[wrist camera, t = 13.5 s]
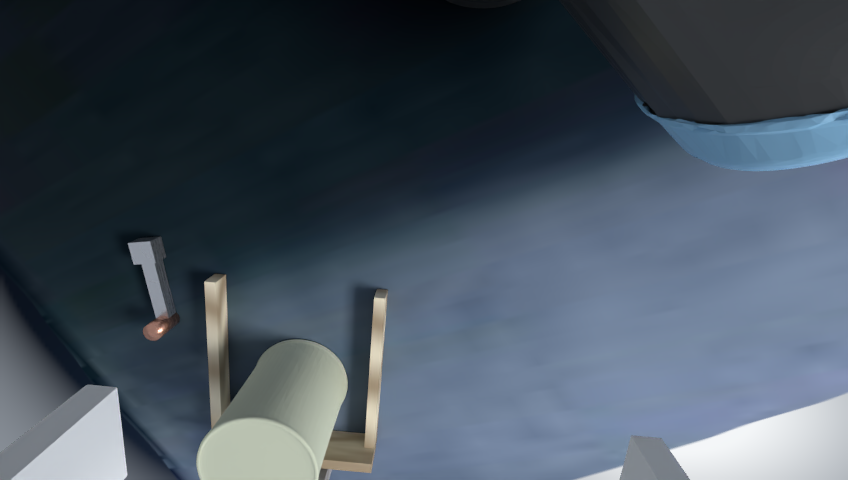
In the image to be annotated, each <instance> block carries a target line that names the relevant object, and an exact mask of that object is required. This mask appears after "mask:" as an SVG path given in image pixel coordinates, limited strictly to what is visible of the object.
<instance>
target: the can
mask: <svg viewBox="0 0 848 480" xmlns="http://www.w3.org/2000/svg"><path fill="white" fill-rule="evenodd" d="M347 388H348V380H347V375H346V371H345V369H344V367H343V365H342V363H341V361H340V360H339V359H338V357H337V356H336V355H335V354H334V353H333V352H331V351H330V350H329V349H327V348H326V347H324V346H323V345H320V344H318V343H316V342H313V341H309V340H303V339H292V340H286V341H282V342H279V343H277V344H275V345H273V346H272V347H270V348H269V349H267V350H266V351H265V352H264V353H263V354H262V356H261V357H260V359H259V360H258V362H257V365H256V367H255V369H254V370H253V372H252V373H251V375H250V376H249V377H248V379H247V380H246V382H245V383H244V385H243V386H242V388H241V389H240V390H239V392H238V393H237V395H236V396H235V398H234V399H233V400H232V402H231V403H230V405H229V406H228V407H227V409H226V410H225V412H224V413H223V414H222V416H221V417H220V418H219V420H218V421H217V422H216V424H215V425H214V427H213V428H212V429H211V430H210V431H209V432H208V433H207V435H206V436H205V437H204V439H203V440H202V442H201V444H200V446H199V449H198V452H197V459H196V464H197V471H198V475H199V478H200V480H318V477H319V473H320V469H321V466H322V463H323V459H324V456H325V453H326V450H327V447H328V443H329V440H330V437H331V434H332V431H333V427H334V424H335V421H336V418H337V415H338V412H339V409H340V407H341V404H342V403H343V401H344V399H345V396H346V393H347Z"/></svg>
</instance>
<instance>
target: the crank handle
mask: <svg viewBox="0 0 848 480" xmlns="http://www.w3.org/2000/svg"><path fill="white" fill-rule="evenodd" d="M128 246H129V249H130V253H131V256H132V260H133V264H134V265H137V264H141V265H142V268H143V272H144V276H145V279H146V283H147V287H148V290H149V294H150V298H151V302H152V305H153V309H154V313H155V316H156V319H154V320H153V321H152V322H150V323H149V324H148V325H146V326H145V327H144V329H143V334H144V336H145V337H146V338H147V339H148V340H151V341H156V340H158V339H159V338H161V337H162V336H163V335H164V334H166V333H167V332H168V331H169V330H170V329H172V328H173V327H174V326H175V325H177V324H178V323H179V320H180V318H179V315H178V314H177V313H176V310H175V306H174V303H173V299H172V295H171V291H170V287H169V283H168V279H167V275H166V271H165V267H164V264H163V260H162V259H164V258H166V255H165V251H164V247H163V243H162V239H161V236H160V237H147V238H139V239H136V240H134V241H131V242H129V243H128Z"/></svg>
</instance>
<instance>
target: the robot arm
mask: <svg viewBox="0 0 848 480" xmlns="http://www.w3.org/2000/svg"><path fill="white" fill-rule="evenodd" d="M445 1H448V2H450V3H453V4H456V5H459V6H464V7H470V8H496V7H501V6H505V5H509V4H512V3H515V2H518V1H520V0H445ZM559 1H560V3H561V4H562V5H563V6H564V7H565V9H566V10H567V11H568V12H569V14H570V15H571V16H572V17H573V19H574V20H575V21H576V22H577V23H578V25H579V26H580V27H581V28H582V30H583V31H584V32H585V33H586V35H587V36H588V37H589V38H590V39H591V41H592V42H593V43H594V44H595V46H596V47H597V48H598V49H599V51H600V52H601V53H602V54H603V55H604V57H605V58H606V59H607V60H608V62H609V63H610V64H611V65H612V67H613V68H614V69H615V70H616V71H617V73H618V74H619V75H620V76H621V78H622V79H623V80H624V81H625V83H626V84H627V85H628V86H629V87H630V89H631V90H632V91H633V92H634V99H635V101H636V103H637V104H638V106H639V107H640V109H641V110H642V111H643V112H644V113H645V114H646V115H648V116H649V117H650V118H653V119H654V120H656V121H657V122H659V123H660V124H661V125H662V126H663V127H664V128H665V130H666V131H667V132H668V133H669V134H670V135H671V136H672V137H673V138H674V140H675V141H676V142H677V143H678V144H679V145H680V146H681V147H682V148H683V149H684V150H685V151H686V152H687V153H689V154H690V155H692V156H693V157H696V158H699V159H701V160H703V161H705V162H707V163H709V164H711V165H716V166H718V167H721V168H727V169H735V170H743V171H771V170H784V169H792V168H799V167H805V166H811V165H817V164H822V163H827V162H831V161H835V160H840V159H844V158H847V157H848V0H559ZM126 476H127V468H126V460H125V451H124V442H123V434H122V425H121V417H120V408H119V399H118V391H117V387H107V386H96V385H86V386H85V387H83V388H82V389H81V390H80V391H79V392H77V393H76V394H75V395H73V396H72V397H71V398H69V399H68V400H67V401H66V402H64V403H63V404H62V405H61V406H59V407H58V408H57V409H55V410H54V411H53V412H52V413H50V414H49V415H48V416H46V417H45V418H44V419H43V420H41V421H40V422H39V423H37V424H36V425H35V426H34V427H32V428H31V429H30V430H29V431H27V432H26V433H25V434H24V435H22V436H21V437H20V438H18V439H17V440H16V441H15V442H13V443H12V444H11V445H10V446H8V447H7V448H6V449H4V450H3V451H2V452H1V453H0V480H124V479H125V478H126ZM620 480H690V479H689V478H688V476H687V475H686V473H685V472H684V470H683V469H682V468H681V466H680V465H679V463H678V462H677V460H676V459H675V458H674V456H673V455H672V453H671V452H670V450H669V449H668V447H667V446H666V444H665V443H664V442H663V440H662V439H661V438H653V437H643V436H632V435H631V439H630V442H629V446H628V450H627V454H626V458H625V461H624V465H623V469H622V473H621V477H620Z"/></svg>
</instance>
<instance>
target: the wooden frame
mask: <svg viewBox="0 0 848 480" xmlns="http://www.w3.org/2000/svg"><path fill="white" fill-rule="evenodd" d="M204 286H205V306H206V326H207V347H208V367H209V388H210V408H211V429H212V428H213V427H214V425H215V424H216V422H217V421H218V420H219V418H220V417H221V416H222V414H223V413H224V412H225V410H226V409H227V407H228V406H229V405H230V380H229V351H228V322H227V293H226V275H224V274H214V275H213V276H211V277H210V278H208V279H207V280H206V281H204ZM387 293H388V290H384V289H377V290H376V293H375V296H374V307H373V322H372V337H371V353H370V368H369V383H368V399H367V414H366V429H365V433H355V432H344V431H332V434H331V437H330V440H329V443H328V447H327V450H326V453H325V456H324V459H323V463H322V466H321V469H320V473H319V477H318V480H329V478H330V474H331V471H332V469H334V470H345V471H355V472H366V473H371V470H372V465H373V459H374V454H375V448H376V441H377V428H378V414H379V401H380V387H381V374H382V360H383V347H384V333H385V320H386V306H387Z"/></svg>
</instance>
